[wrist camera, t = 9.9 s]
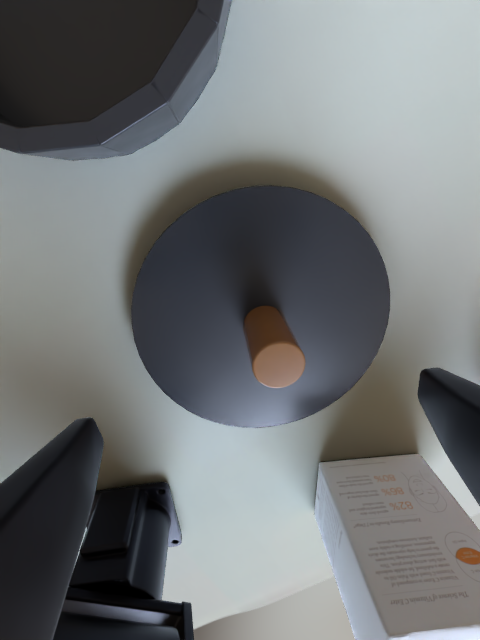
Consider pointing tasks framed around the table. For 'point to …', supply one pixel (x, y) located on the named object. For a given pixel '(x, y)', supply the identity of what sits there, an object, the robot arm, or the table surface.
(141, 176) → the table surface
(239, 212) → the lid
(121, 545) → the robot arm
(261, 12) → the table surface
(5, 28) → the pot
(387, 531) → the small box
